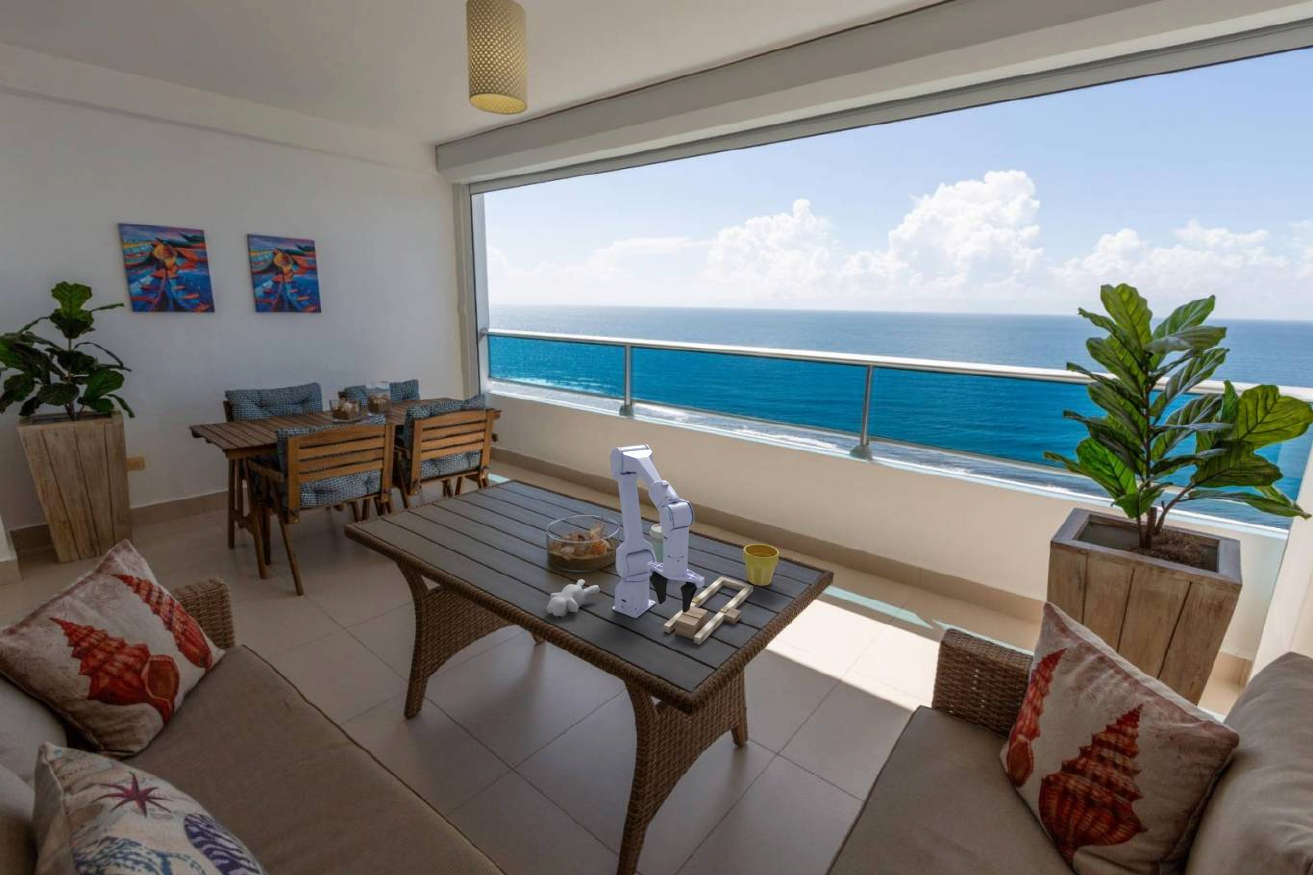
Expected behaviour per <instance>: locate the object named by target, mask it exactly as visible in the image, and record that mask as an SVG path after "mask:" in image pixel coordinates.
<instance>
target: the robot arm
mask: <svg viewBox="0 0 1313 875" xmlns="http://www.w3.org/2000/svg"><path fill="white" fill-rule="evenodd" d="M609 455H610V457H609V461H610V471H611V476H612V478H613V479H615V480H617V486H618V493H619V501H620V502H619V503H620V508H621V509H620V511H621V518H622V526H623V535H624V540H623V542H622V543H621V544H620V545H619V546H618V547H617V548H616V549H615V551H616V552H615V555H616V556H615V568H616V572H617V574H618V575H619V577H621V580H620V582H619V583H617V585H616V586H615V589H614V606H612V607H611V608H612V610H613V611H616V612H617V613H621V614H624V615H626V616H629V617H630V618H631V617H632V618H634V619H638V617H640V616H642V614H643V613H645V612H646V611H648V610H649V609H650V608H651V607H653V606H654V605H655V604H656V601H654V600H653V599H650V583H651V584H652V586H653V588H654V590H655V591H654V592H655V593H656V597H657V601H658V604H659V605H663V603H665V602H666V601H667V586H668V579H669V580H674V581H681V582H684V584H683V585H682V586H680V588H679V589H680V592H681V597H682V598H681V599H682V609H681V610H683V612H684V613H686V612H687V611H688V610H690V605H691V602H692V600H693V599H694V598H695V594H696V593H697V591H698V589H701V588H703V587H704V586H705V576H701V575H700V574H697V573H696V572H694V571H692V570H691V569H688V566H689V565H688V562H689V559H688V558H689V538H690V537H689V536H690V535H689V534H690V533H689V532H690V527H691V526H693V524H694V523H695V510H694V508H693V506H692V504H691V502H690V501H689V500H685V499H684V498H680V496H679V495H678V494H677V492H676V490H675V489H674V488H673V487H672V485H671V483H670V482H668V480H664V479H662V477H661V476H660V474H659V472H658V471H657V469H656V467H655V465H654V456H653V455H654V454H653V451H652V449H651V447H650V446H649V445H648V444H647V443H642V444H639V445H629V446H620V447H619V446H615V447H613V449H612V451H611V453H610V454H609ZM639 477H640V479H641V480H642V481H643V482H644V483H645V485H646V486H647V487H648V488H649V489H648V492H647V493H648V494H647V495H648V497H649V498H650V500H651V501H652V503H653V505H654V506H655V508H656V509H657V511H658V512H659V513H658V518H659V524H661V531H662V534H663V535H664V539H663V563H657V560H656V556H655V554H654V550H653V546H652V544H651V542H649V541H647V540H646V539H645V538H644V532H643V524H642V516H641V507H640V506H641V505H640V500H639V492H638V485H637V482H638V480H639Z"/></svg>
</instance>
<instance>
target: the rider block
mask: <svg viewBox="0 0 1313 875" xmlns="http://www.w3.org/2000/svg"><path fill="white" fill-rule="evenodd" d="M708 613H709V612H708V610H706V609H703V608H700V607H698V608H697V607H694V606H690V610H688V611H687V612H686V613H684V612H682V614H681V615H680V616H679V617H678V618H677V619H676V628H675V634H676V635H678V636H682V637H684V638H688V639H691V640H694V636H695V635H696V634H697V633H698V632H699V631H700V630H701V629H702V628H703V627H704V626H705V625H706V624H707V623H708Z"/></svg>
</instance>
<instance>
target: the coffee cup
mask: <svg viewBox="0 0 1313 875" xmlns="http://www.w3.org/2000/svg"><path fill="white" fill-rule="evenodd" d="M649 536H650V543H651V544H652V546H653V550H654V554H655V556H656V560H657V563H663V539H664V535H663V534H662V531H661V523H656V524H654V525H651V527H650V530H649Z"/></svg>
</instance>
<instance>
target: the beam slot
mask: <svg viewBox="0 0 1313 875" xmlns="http://www.w3.org/2000/svg"><path fill="white" fill-rule="evenodd" d="M722 587H727V588H731V589H734V590H736V591H739V592H738V593H737V594H736V595H735V596H734V597H733V598H731V600H730V601H729V602H728V603H726V605H724V606H723V607H722V608H720V610H719V611H718V612H717V613H716V614H714V616H713V617H712V618H711V619H710V620H709V621H707V624H706V625H705V626H704V627H703V628H702V629H701V630H700V631H699V632H698V633H697V634H696V635H695V636H694V639H693V643H694V644H696V645H701V644H702V643H703V642H704V641H705V640H706V639H707V638H708V637H709V636H711V634H712V633H713V632H714V631H715V630H716V629H717V628H718V627H719V626H720V625H721V624H722V623H723V622H727V623H730V624H733V625H735V624H736V623H737V622H738V621H739V620H741V618H742V610H738V609H737V608H738V607H740V605H741V604H742V603H744V601H745V600H746V599H747V598H748V597H749V596H750V595H752V593H753V592H754V586H753V584H752V585H751V584H748V583H745V582H742V581H739V580H735V579H732V578H729V577H725V576H720V577H718V578H717V579H716V580H715V581H714V582H713V583H712V584H710V585H709V586H707V588H705V589H704V590H703V591H702V592H701V593H700V594H698V595H697V596H694V597H693V599H692V602H691V605H690V606H694V607H697V608H700V606H701V607H702V605H703V604H704V603H705V602H707V601H708V600H709V599H710V598H711V597H712V596H714V595H715V593H717V592H718V591H719V590H720V589H721V588H722ZM682 612H683V610H682V609H680V611H678V612H677V613H676V614H675V615H673V617H671V618H670V619H669V620H668V621H667V622H666V623H664V624H663V632H665V633H667V634H670V633H672V632H673V630H676V619H677V618H678V617H679V616H680V615H681V614H682Z"/></svg>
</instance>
